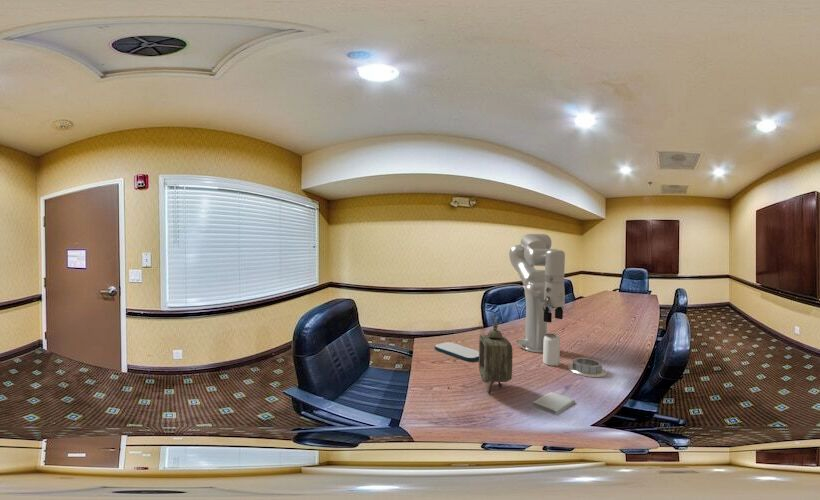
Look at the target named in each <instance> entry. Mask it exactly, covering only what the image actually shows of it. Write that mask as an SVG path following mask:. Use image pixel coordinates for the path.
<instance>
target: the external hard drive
mask: <svg viewBox="0 0 820 500" xmlns="http://www.w3.org/2000/svg"><path fill="white" fill-rule="evenodd" d="M434 350H435V351H437V352H440V353H442V354H445V355H448V356H451V357H453V358H456V359H459V360H462V361H465V362H476V361H479V350H477V349H473V348H471V347H467V346H464V345H461V344H457V343H455V342H452V341H450V342H449V341H447V342H441V343H438V344H437V343H436V344H435V345H434Z"/></svg>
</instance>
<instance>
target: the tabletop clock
mask: <svg viewBox="0 0 820 500" xmlns="http://www.w3.org/2000/svg"><path fill="white" fill-rule="evenodd" d="M498 325H499V324H498V319H497V317H496V316H493V317H492V328H493V329H490V330H489V331H488V332H487V334H480V335H479V341H478V342H479V343H478V344H479V345H478V351H479V360H478V369H479V373H480V376H481V381H482V382H484V383H486V382H489V383H490V384H489V388H487V390H486V393H487V394H492V391H493V390H492V387H493V385H494V383H497V387H498V388H499V389H500V388H502V387H503V383H508V382H509V381H510V380H512V376H513V346H512V344H511V342H510V340H509V339H508V338H506V337H505V336H503V334H502V332H501V331H500V330H498Z"/></svg>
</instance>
